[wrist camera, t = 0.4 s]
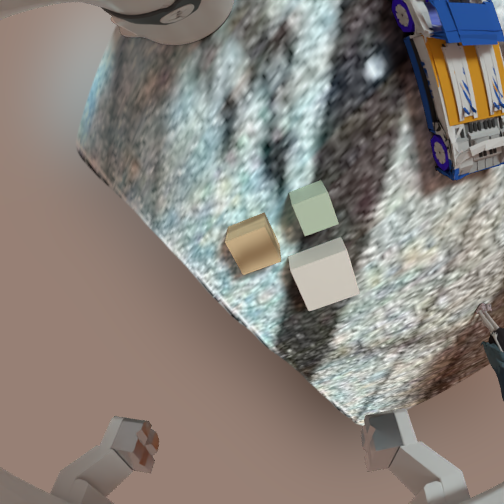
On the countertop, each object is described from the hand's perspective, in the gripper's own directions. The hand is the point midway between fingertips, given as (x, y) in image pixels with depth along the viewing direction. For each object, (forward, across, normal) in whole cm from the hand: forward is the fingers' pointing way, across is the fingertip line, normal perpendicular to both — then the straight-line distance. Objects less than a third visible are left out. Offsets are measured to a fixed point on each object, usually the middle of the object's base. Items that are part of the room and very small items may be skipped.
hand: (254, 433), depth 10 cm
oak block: (+38, +3, +7) cm, 39 cm away
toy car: (+37, -30, -18) cm, 51 cm away
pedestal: (+39, -8, +14) cm, 42 cm away
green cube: (+38, -6, +2) cm, 39 cm away
